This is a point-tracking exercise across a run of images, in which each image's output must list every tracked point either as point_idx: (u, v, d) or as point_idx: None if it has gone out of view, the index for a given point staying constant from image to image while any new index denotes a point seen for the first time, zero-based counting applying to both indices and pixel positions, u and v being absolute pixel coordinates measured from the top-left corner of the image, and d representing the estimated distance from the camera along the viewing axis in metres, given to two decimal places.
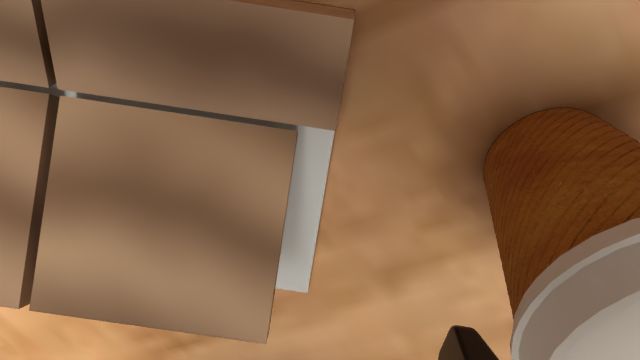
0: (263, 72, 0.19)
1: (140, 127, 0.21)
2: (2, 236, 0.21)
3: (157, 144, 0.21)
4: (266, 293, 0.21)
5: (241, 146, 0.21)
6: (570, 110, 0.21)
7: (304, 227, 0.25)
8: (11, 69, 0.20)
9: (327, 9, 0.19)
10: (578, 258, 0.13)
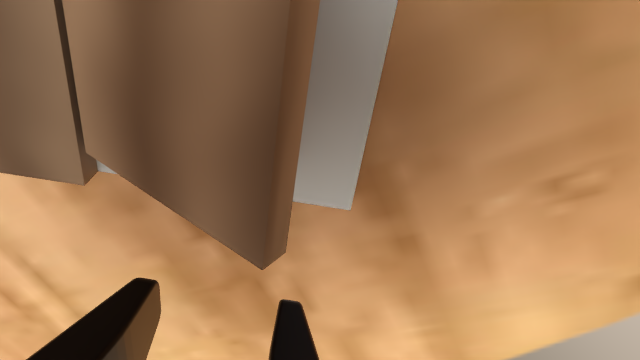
0: None
1: None
2: None
3: None
4: None
5: None
6: None
7: None
8: None
9: None
10: None
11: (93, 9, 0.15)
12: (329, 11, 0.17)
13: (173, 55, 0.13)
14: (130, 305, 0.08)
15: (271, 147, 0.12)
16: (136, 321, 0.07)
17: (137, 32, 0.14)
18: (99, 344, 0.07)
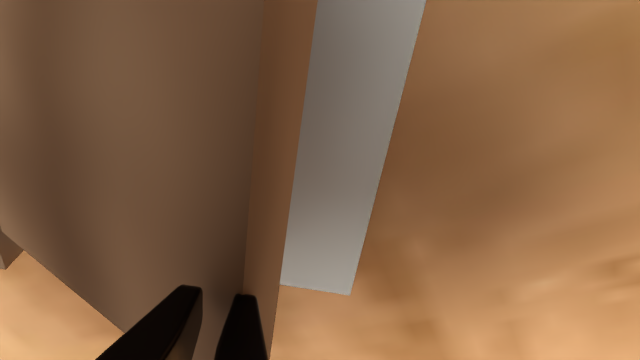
0: None
1: None
2: None
3: None
4: None
5: None
6: None
7: None
8: None
9: None
10: None
11: None
12: (320, 54, 0.12)
13: (90, 134, 0.09)
14: (179, 312, 0.08)
15: (238, 282, 0.08)
16: (185, 328, 0.07)
17: (40, 96, 0.10)
18: (155, 352, 0.07)
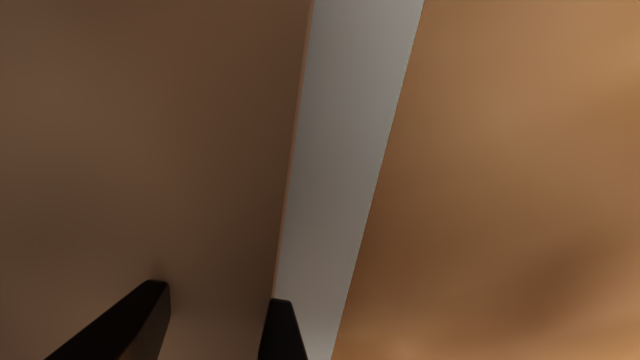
0: None
1: None
2: None
3: None
4: None
5: None
6: None
7: None
8: None
9: None
10: None
11: None
12: None
13: (29, 184, 0.07)
14: (142, 307, 0.08)
15: (266, 282, 0.08)
16: (148, 323, 0.07)
17: None
18: (113, 346, 0.07)
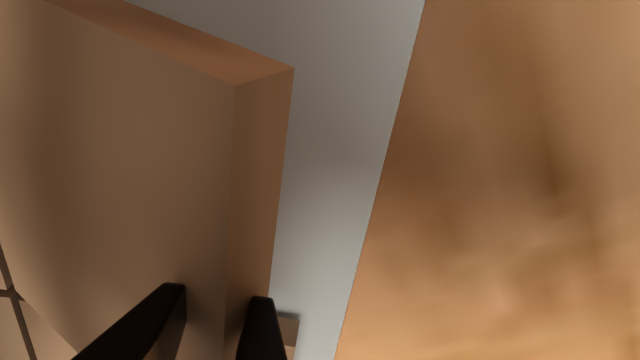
0: None
1: (1, 215, 0.13)
2: None
3: (7, 200, 0.13)
4: (121, 54, 0.07)
5: None
6: None
7: None
8: (2, 324, 0.17)
9: None
10: None
11: None
12: None
13: None
14: (161, 310, 0.08)
15: None
16: (167, 326, 0.07)
17: None
18: (136, 349, 0.07)
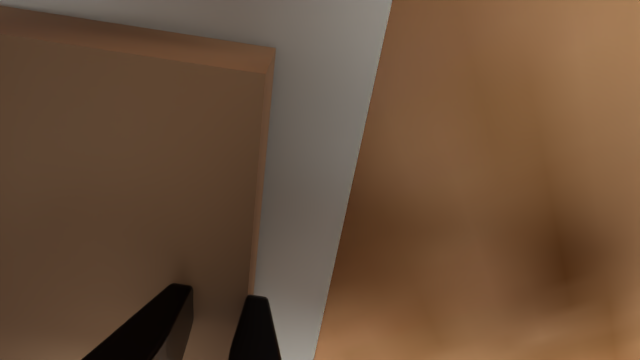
0: None
1: None
2: None
3: None
4: (94, 68, 0.06)
5: None
6: None
7: None
8: None
9: None
10: None
11: None
12: None
13: None
14: (169, 311, 0.08)
15: None
16: (175, 327, 0.07)
17: None
18: (144, 351, 0.07)
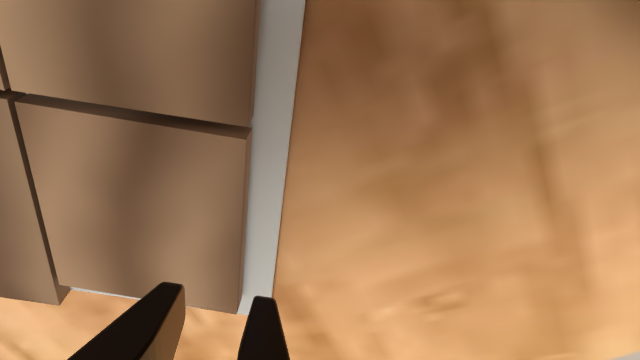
0: None
1: None
2: (172, 151, 0.20)
3: None
4: None
5: None
6: None
7: None
8: (1, 130, 0.20)
9: None
10: None
11: (75, 198, 0.22)
12: None
13: (157, 217, 0.22)
14: (159, 309, 0.08)
15: (237, 252, 0.23)
16: (165, 326, 0.07)
17: (122, 208, 0.22)
18: (132, 349, 0.07)
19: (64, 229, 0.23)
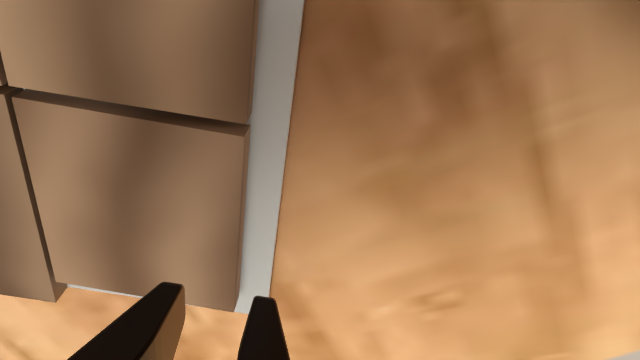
0: None
1: None
2: (170, 148, 0.20)
3: None
4: None
5: None
6: None
7: None
8: None
9: None
10: None
11: (72, 194, 0.22)
12: None
13: (154, 214, 0.22)
14: (159, 310, 0.08)
15: (235, 250, 0.23)
16: (165, 326, 0.07)
17: (119, 204, 0.22)
18: (132, 349, 0.07)
19: (61, 226, 0.23)
